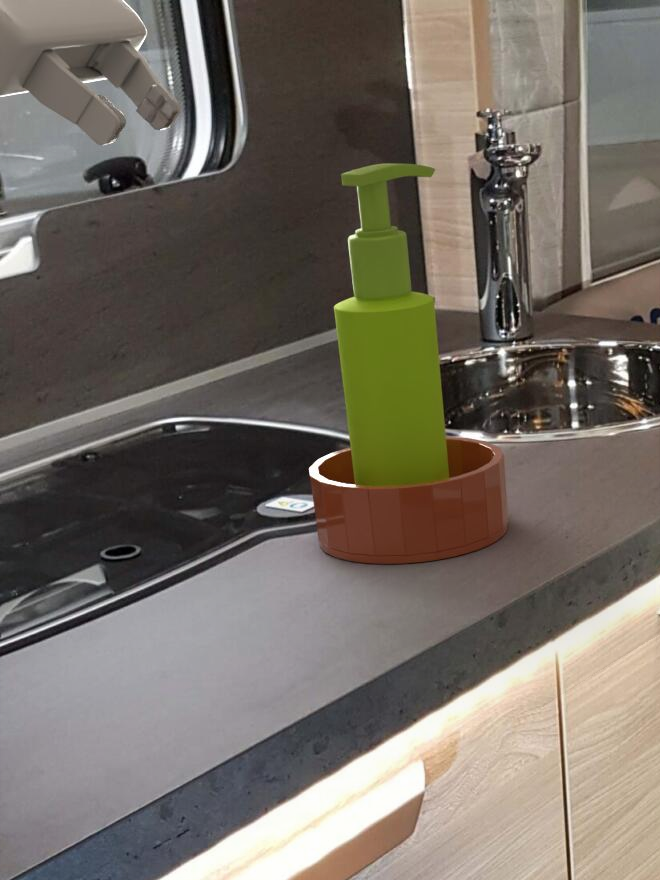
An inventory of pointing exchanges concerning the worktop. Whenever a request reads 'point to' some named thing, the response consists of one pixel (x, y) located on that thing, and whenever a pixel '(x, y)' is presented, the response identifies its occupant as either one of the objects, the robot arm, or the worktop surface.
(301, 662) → the worktop surface
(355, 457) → the soap dispenser
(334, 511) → the bowl
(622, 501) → the worktop surface
